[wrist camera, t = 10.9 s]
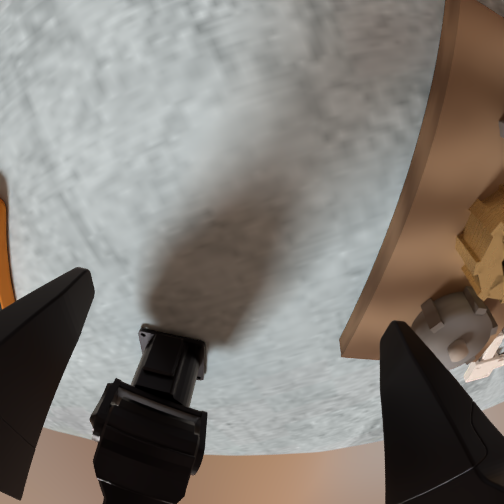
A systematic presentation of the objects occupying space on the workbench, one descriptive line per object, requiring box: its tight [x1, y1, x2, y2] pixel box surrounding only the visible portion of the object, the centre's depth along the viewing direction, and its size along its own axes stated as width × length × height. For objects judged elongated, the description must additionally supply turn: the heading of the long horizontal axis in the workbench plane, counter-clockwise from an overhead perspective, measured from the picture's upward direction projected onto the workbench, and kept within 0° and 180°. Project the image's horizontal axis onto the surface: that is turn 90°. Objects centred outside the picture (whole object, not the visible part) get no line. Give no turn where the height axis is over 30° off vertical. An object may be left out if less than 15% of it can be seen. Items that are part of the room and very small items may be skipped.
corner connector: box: [464, 330, 504, 382], centre depth 26 cm, size 8×8×2 cm
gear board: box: [339, 0, 504, 370], centre depth 16 cm, size 28×16×6 cm, turn 172°
